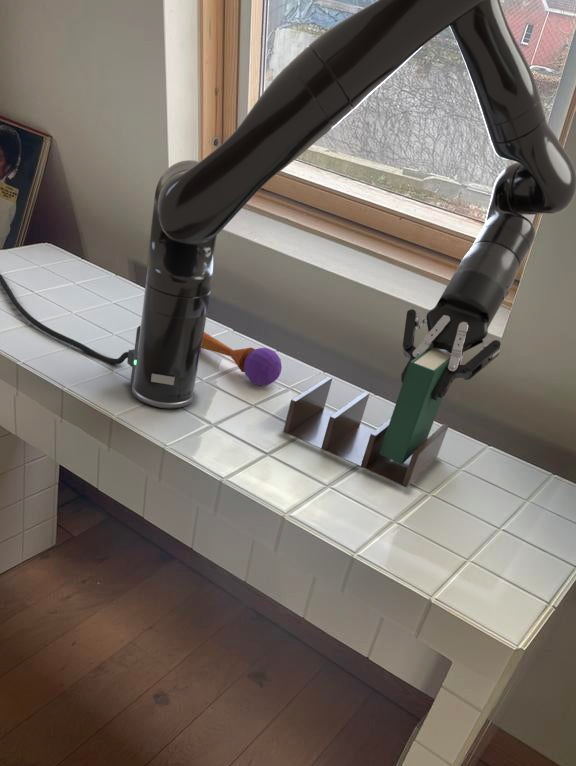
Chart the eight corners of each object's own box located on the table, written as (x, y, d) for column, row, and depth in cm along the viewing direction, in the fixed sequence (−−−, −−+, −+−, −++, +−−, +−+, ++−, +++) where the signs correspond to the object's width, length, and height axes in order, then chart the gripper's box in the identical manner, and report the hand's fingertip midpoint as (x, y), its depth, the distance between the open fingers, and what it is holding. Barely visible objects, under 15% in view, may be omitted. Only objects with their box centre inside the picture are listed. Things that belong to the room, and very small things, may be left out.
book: (378, 454, 114) (409, 361, 106) (404, 431, 121) (435, 343, 113) (401, 464, 113) (435, 371, 105) (426, 441, 119) (459, 352, 112)
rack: (282, 436, 120) (290, 399, 117) (318, 410, 129) (328, 376, 126) (405, 491, 113) (418, 454, 109) (435, 461, 121) (448, 425, 118)
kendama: (205, 317, 143) (293, 354, 132) (197, 351, 145) (283, 390, 134) (181, 316, 139) (270, 354, 127) (173, 351, 141) (260, 391, 130)
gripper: (430, 253, 111) (369, 359, 109) (532, 287, 106) (470, 399, 104) (431, 283, 118) (373, 384, 116) (527, 317, 112) (468, 423, 110)
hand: (419, 391), depth 110 cm, fingers closed on book, 3 cm apart
